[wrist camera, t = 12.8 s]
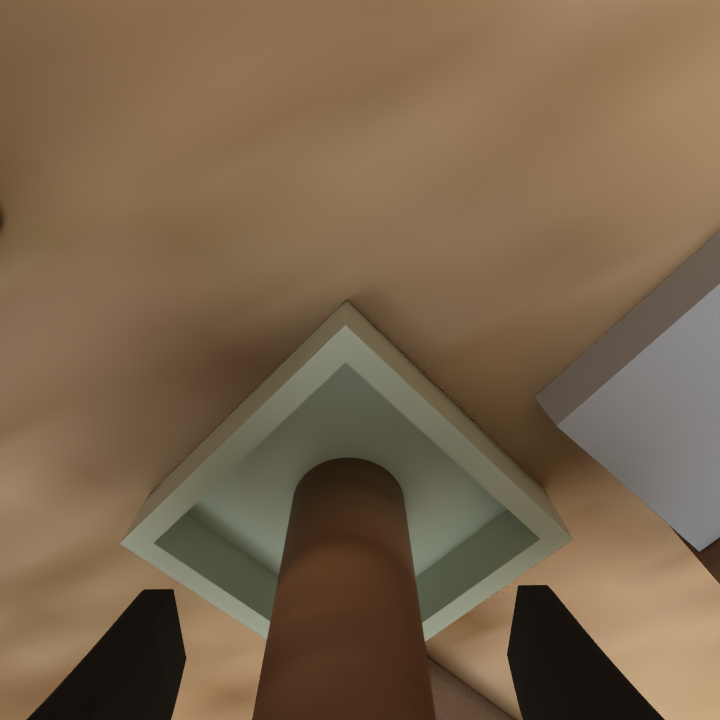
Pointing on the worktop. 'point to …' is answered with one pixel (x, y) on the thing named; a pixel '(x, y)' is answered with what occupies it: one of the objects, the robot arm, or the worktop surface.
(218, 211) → the worktop surface
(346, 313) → the tray
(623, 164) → the worktop surface
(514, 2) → the worktop surface
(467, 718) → the socket
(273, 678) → the dowel
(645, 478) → the grey square tile
